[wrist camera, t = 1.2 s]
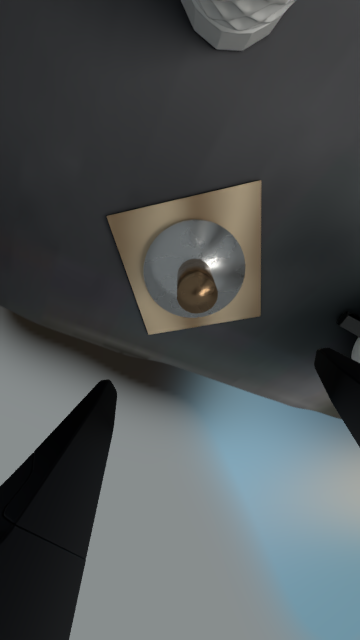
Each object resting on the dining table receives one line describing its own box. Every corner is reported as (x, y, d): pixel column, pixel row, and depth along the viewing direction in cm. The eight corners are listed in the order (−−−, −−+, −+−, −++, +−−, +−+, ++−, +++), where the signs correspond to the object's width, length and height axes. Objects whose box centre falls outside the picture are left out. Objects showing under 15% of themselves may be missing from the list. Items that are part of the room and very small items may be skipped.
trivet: (259, 180, 16) (261, 180, 16) (259, 314, 22) (260, 316, 22) (107, 215, 17) (106, 216, 17) (149, 332, 24) (148, 334, 23)
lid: (241, 207, 17) (259, 216, 13) (245, 306, 21) (260, 333, 18) (130, 232, 18) (117, 247, 14) (158, 321, 22) (154, 350, 19)
